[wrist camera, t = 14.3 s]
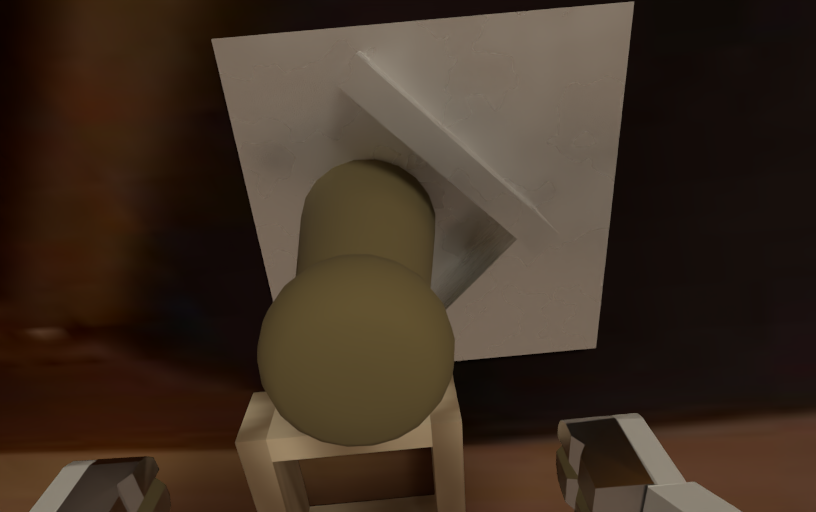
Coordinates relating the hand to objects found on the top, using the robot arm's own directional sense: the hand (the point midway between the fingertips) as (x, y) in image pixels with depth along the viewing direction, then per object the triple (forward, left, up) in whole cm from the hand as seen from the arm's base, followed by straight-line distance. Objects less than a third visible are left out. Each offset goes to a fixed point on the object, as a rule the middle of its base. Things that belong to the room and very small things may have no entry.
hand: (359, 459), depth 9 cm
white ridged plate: (-3, 0, -14) cm, 14 cm away
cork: (0, 0, -13) cm, 13 cm away
